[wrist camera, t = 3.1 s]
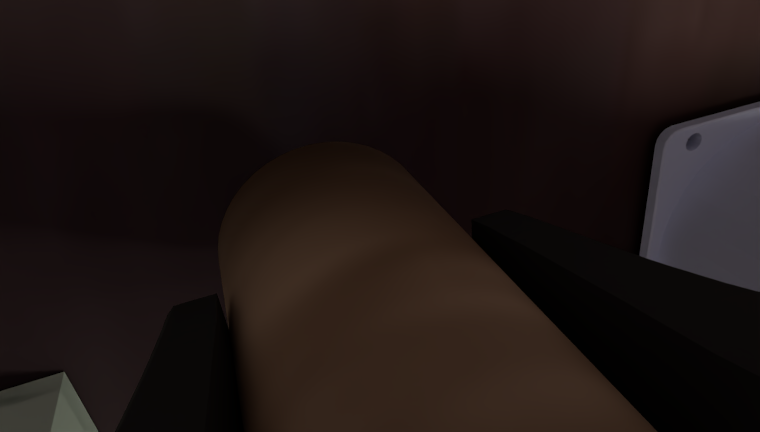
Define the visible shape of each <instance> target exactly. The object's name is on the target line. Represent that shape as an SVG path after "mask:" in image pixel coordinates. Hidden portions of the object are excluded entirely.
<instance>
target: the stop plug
mask: <svg viewBox="0 0 760 432" xmlns="http://www.w3.org/2000/svg"><path fill="white" fill-rule="evenodd" d="M218 259H219V267H220V273H221V280H222V287H223V294H224V300H225V307H226V314H227V321H228V328H229V333H230V339H231V346H232V353H233V360H234V366H235V373H236V380H237V388H238V395H239V402H240V409H241V415H242V422H243V429H244V432H657V431H656V430H655V429H654V428H653V426H652V425H651V424H650V423H649V422H648V421H647V420H646V419H645V418H644V417H643V416H642V415H641V414H640V413H639V412H638V411H637V410H636V409H635V408H634V407H633V406H632V405H631V404H630V403H629V401H628V400H627V399H626V398H625V397H624V396H623V395H622V394H621V393H620V392H619V391H618V390H617V389H616V388H615V387H614V386H613V385H612V384H611V383H610V382H609V381H608V380H607V379H606V378H605V376H604V375H603V374H602V373H601V372H600V371H599V370H598V369H597V368H596V367H595V366H594V365H593V364H592V363H591V362H590V361H589V360H588V359H587V358H586V357H585V356H584V355H583V354H582V353H581V351H580V350H579V349H578V348H577V347H576V346H575V345H574V344H573V343H572V342H571V341H570V340H569V339H568V338H567V337H566V336H565V335H564V334H563V333H562V332H561V331H560V330H559V329H558V328H557V326H556V325H555V324H554V323H553V322H552V321H551V320H550V319H549V318H548V317H547V316H546V315H545V314H544V313H543V312H542V311H541V310H540V309H539V308H538V307H537V306H536V305H535V304H534V303H533V302H532V300H531V299H530V298H529V297H528V296H527V295H526V294H525V293H524V292H523V291H522V290H521V289H520V288H519V287H518V286H517V285H516V284H515V283H514V282H513V281H512V280H511V279H510V278H509V277H508V275H507V274H506V273H505V272H504V271H503V270H502V269H501V268H500V267H499V266H498V265H497V264H496V263H495V262H494V261H493V260H492V259H491V258H490V257H489V256H488V255H487V254H486V253H485V252H484V250H483V249H482V248H481V247H480V246H479V245H478V244H477V243H476V242H475V241H474V240H473V239H472V238H471V237H470V236H469V235H468V234H467V233H466V232H465V231H464V230H463V229H462V228H461V227H460V225H459V224H458V223H457V222H456V221H455V220H454V219H453V218H452V217H451V216H450V215H449V214H448V213H447V212H446V211H445V210H444V209H443V208H442V207H441V206H440V205H439V204H438V203H437V202H436V200H435V199H434V198H433V197H432V196H431V195H430V194H429V193H428V192H427V191H426V190H425V189H424V188H423V187H422V186H421V185H420V184H419V183H418V182H417V181H416V180H415V179H414V178H413V177H412V176H411V174H410V173H409V172H408V171H407V170H406V169H405V168H404V167H403V166H402V165H401V164H400V163H398V162H397V161H396V160H394V159H393V158H392V157H390V156H389V155H387V154H385V153H383V152H381V151H379V150H377V149H374V148H371V147H369V146H366V145H361V144H357V143H350V142H322V143H316V144H311V145H307V146H303V147H300V148H297V149H294V150H291V151H289V152H287V153H285V154H282V155H280V156H278V157H277V158H275V159H273V160H272V161H270V162H268V163H267V164H265V165H264V166H263V167H262V168H260V169H259V170H258V171H256V172H255V173H254V174H253V175H252V176H251V177H250V178H249V179H248V180H247V181H246V182H245V183H244V184H243V185H242V187H241V188H240V189H239V191H238V192H237V193H236V194H235V196H234V197H233V199H232V201H231V203H230V204H229V206H228V208H227V210H226V213H225V215H224V218H223V220H222V223H221V228H220V232H219V238H218Z"/></svg>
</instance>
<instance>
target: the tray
mask: <svg viewBox="0 0 760 432" xmlns="http://www.w3.org/2000/svg"><path fill="white" fill-rule="evenodd" d="M0 432H98V430H97V428H96V426H95V425H94V423H93V421H92V419H91V418H90V416H89V414H88V412H87V411H86V409H85V407H84V405H83V404H82V402H81V400H80V398H79V397H78V395H77V393H76V391H75V390H74V388H73V386H72V384H71V383H70V381H69V379H68V377H67V376H66V374H65V372H61V373H58V374H55V375H51V376H48V377H45V378H42V379H38V380H35V381H32V382H29V383H25V384H22V385H19V386H15V387H12V388H9V389H6V390H2V391H0Z"/></svg>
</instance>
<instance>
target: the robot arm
mask: <svg viewBox="0 0 760 432" xmlns="http://www.w3.org/2000/svg"><path fill="white" fill-rule="evenodd" d="M688 139H689V140H688ZM472 239H473V240H474V241H475V242H476V243H477V244H478V245H479V246H480V247H481V248H482V249H483V250H484V252H485V253H486V254H487V255H488V256H489V257H490V258H491V259H492V260H493V261H494V262H495V263H496V264H497V265H498V266H499V267H500V268H501V269H502V270H503V271H504V272H505V273H506V274H507V275H508V277H509V278H510V279H511V280H512V281H513V282H514V283H515V284H516V285H517V286H518V287H519V288H520V289H521V290H522V291H523V292H524V293H525V294H526V295H527V296H528V297H529V298H530V299H531V300H532V302H533V303H534V304H535V305H536V306H537V307H538V308H539V309H540V310H541V311H542V312H543V313H544V314H545V315H546V316H547V317H548V318H549V319H550V320H551V321H552V322H553V323H554V324H555V325H556V326H557V328H558V329H559V330H560V331H561V332H562V333H563V334H564V335H565V336H566V337H567V338H568V339H569V340H570V341H571V342H572V343H573V344H574V345H575V346H576V347H577V348H578V349H579V350H580V351H581V353H582V354H583V355H584V356H585V357H586V358H587V359H588V360H589V361H590V362H591V363H592V364H593V365H594V366H595V367H596V368H597V369H598V370H599V371H600V372H601V373H602V374H603V375H604V376H605V378H606V379H607V380H608V381H609V382H610V383H611V384H612V385H613V386H614V387H615V388H616V389H617V390H618V391H619V392H620V393H621V394H622V395H623V396H624V397H625V398H626V399H627V400H628V401H629V403H630V404H631V405H632V406H633V407H634V408H635V409H636V410H637V411H638V412H639V413H640V414H641V415H642V416H643V417H644V418H645V419H646V420H647V421H648V422H649V423H650V424H651V425H652V426H653V428H654V429H655V430H656V431H657V432H760V101H759V102H756V103H752V104H748V105H745V106H741V107H737V108H734V109H730V110H727V111H723V112H719V113H716V114H712V115H708V116H705V117H701V118H697V119H694V120H690V121H687V122H683V123H679V124H676V125H672V126H670V127H668V128H666V129H665V130H664V131H663V132H662V133H661V134H660V135H659V137H658V138H657V141H656V144H655V150H654V157H653V164H652V171H651V178H650V185H649V191H648V198H647V205H646V212H645V219H644V226H643V233H642V240H641V247H640V254H639V256H638V255H635V254H632V253H630V252H627V251H624V250H621V249H618V248H615V247H612V246H610V245H607V244H604V243H601V242H598V241H596V240H593V239H590V238H587V237H585V236H582V235H579V234H576V233H574V232H571V231H568V230H565V229H563V228H560V227H557V226H554V225H552V224H549V223H546V222H543V221H540V220H537V219H534V218H531V217H528V216H525V215H522V214H519V213H516V212H512V211H508V210H503V211H500V212H496V213H493V214H489V215H486V216H482V217H479V218H475V219H472ZM115 432H244V429H243V422H242V415H241V409H240V402H239V395H238V388H237V380H236V373H235V366H234V360H233V353H232V346H231V339H230V333H229V328H228V326H227V323H226V320H225V317H224V314H223V311H222V308H221V305H220V302H219V299H218V296H217V294H213V295H210V296H207V297H203V298H200V299H196V300H193V301H189V302H186V303H182V304H179V305H176V306H173V308H172V309H171V311H170V312H169V314H168V315H167V318H166V320H165V323H164V325H163V328H162V330H161V333H160V335H159V338H158V340H157V343H156V345H155V347H154V350H153V352H152V354H151V357H150V359H149V361H148V364H147V366H146V368H145V370H144V372H143V375H142V377H141V379H140V381H139V383H138V386H137V388H136V390H135V392H134V394H133V396H132V398H131V400H130V402H129V404H128V406H127V408H126V410H125V412H124V414H123V416H122V419H121V421H120V423H119V425H118V427H117V429H116V431H115Z"/></svg>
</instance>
